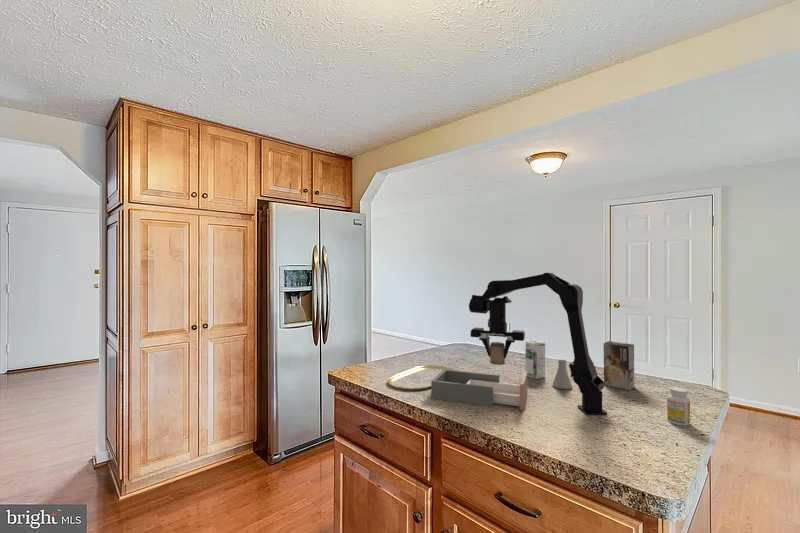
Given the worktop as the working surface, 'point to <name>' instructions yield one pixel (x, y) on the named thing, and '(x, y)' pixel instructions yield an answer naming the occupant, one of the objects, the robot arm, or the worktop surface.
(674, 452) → the worktop surface
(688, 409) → the supplement bottle
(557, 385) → the flask
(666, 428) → the worktop surface
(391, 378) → the gold oval hoop
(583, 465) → the worktop surface
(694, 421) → the worktop surface
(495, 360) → the spice jar
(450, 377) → the dock
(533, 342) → the syrup box
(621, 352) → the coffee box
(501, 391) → the tray
